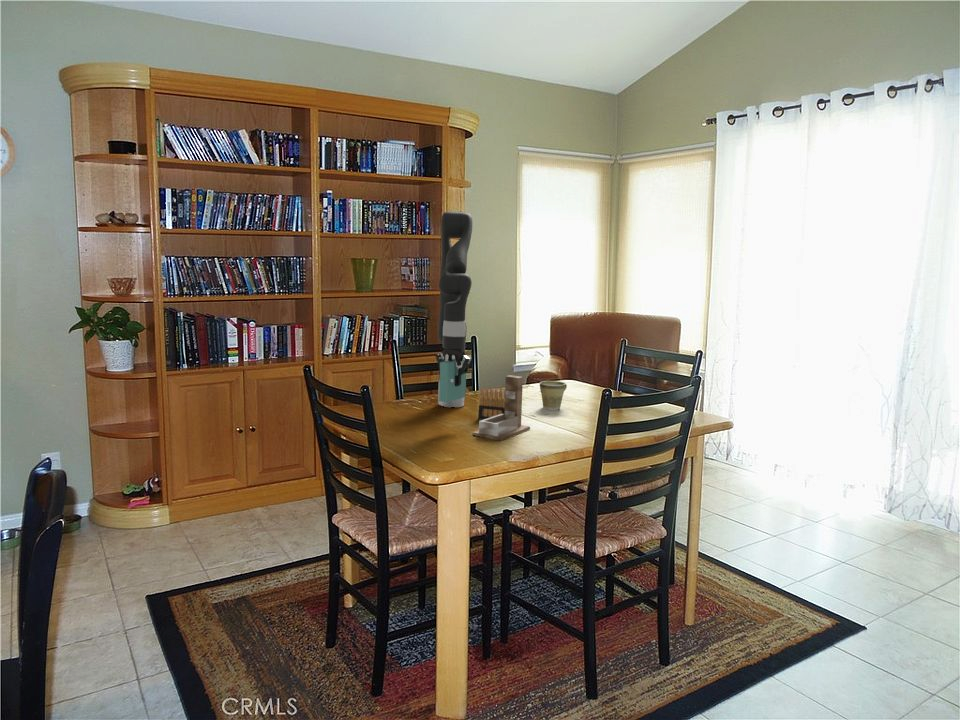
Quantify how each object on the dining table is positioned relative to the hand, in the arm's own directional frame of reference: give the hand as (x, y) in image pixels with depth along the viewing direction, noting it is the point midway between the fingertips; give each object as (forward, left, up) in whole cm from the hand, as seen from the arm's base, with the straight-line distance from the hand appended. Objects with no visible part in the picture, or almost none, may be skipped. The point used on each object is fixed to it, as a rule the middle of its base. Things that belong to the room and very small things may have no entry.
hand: (453, 385), depth 246 cm
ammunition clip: (+3, +21, -16) cm, 26 cm away
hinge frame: (+15, +7, -15) cm, 23 cm away
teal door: (0, 0, -5) cm, 5 cm away
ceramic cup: (+11, +53, -15) cm, 56 cm away
